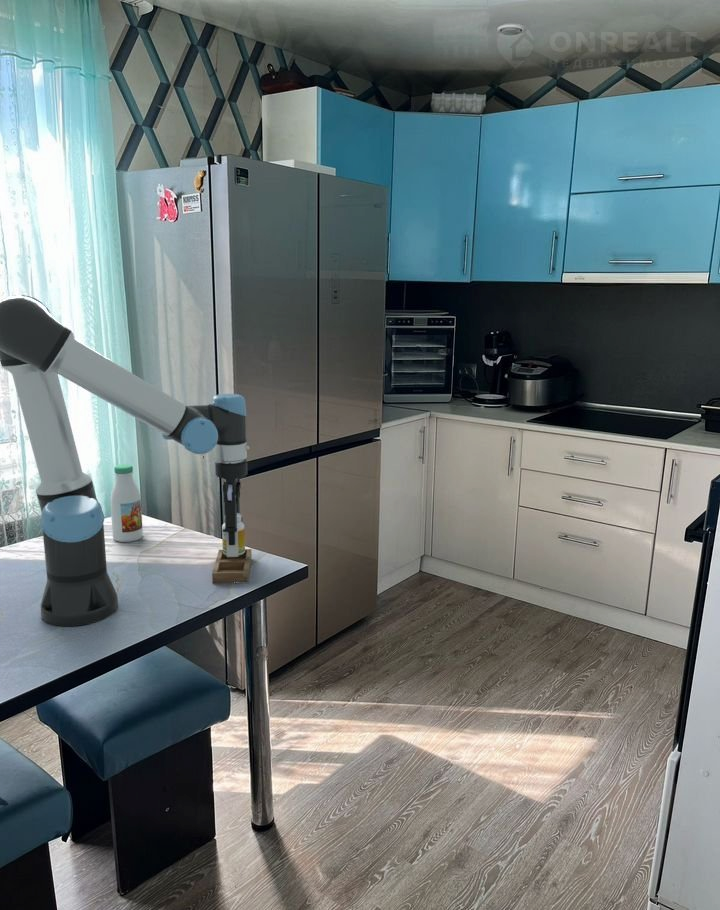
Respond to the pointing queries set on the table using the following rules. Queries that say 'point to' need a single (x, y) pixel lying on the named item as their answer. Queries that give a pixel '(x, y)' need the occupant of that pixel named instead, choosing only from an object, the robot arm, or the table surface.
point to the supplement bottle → (240, 536)
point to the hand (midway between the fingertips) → (233, 551)
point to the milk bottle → (125, 506)
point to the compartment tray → (231, 568)
